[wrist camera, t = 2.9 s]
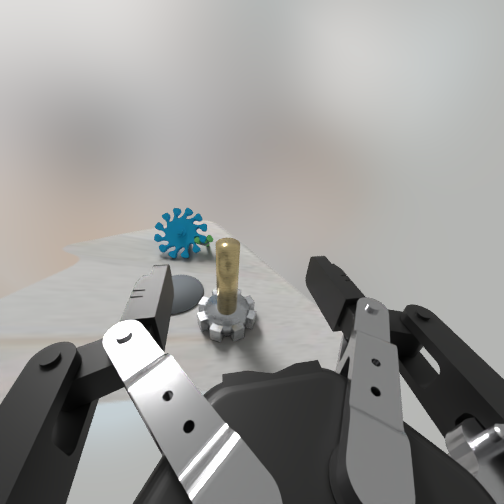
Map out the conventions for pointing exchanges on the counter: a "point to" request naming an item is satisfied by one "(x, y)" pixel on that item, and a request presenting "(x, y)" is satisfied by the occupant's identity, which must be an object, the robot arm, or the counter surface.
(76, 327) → the counter surface
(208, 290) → the counter surface
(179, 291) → the pad
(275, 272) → the counter surface
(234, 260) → the gear
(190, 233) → the blue splat disc
